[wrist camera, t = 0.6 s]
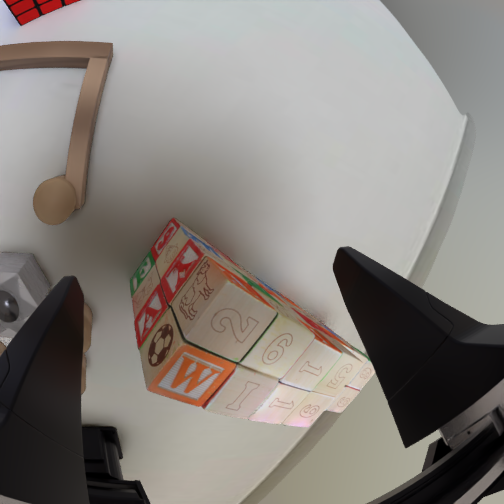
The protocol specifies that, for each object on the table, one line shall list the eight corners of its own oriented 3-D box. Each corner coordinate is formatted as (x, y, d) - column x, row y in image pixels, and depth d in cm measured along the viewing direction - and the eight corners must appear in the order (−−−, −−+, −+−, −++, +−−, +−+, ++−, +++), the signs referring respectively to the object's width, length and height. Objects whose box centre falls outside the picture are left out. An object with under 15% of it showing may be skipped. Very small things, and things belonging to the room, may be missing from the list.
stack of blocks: (325, 323, 32) (402, 383, 22) (292, 364, 32) (358, 433, 22) (171, 215, 21) (230, 279, 11) (126, 281, 21) (144, 394, 11)
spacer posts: (98, 370, 22) (99, 397, 19) (-22, 359, 16) (-32, 382, 13) (96, 177, 18) (91, 180, 15) (-48, 174, 12) (-70, 179, 9)
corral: (84, 202, 18) (79, 208, 16) (-39, 198, 13) (-54, 204, 10) (112, 55, 15) (112, 43, 13) (-15, 58, 10) (-27, 50, 8)
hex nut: (53, 313, 19) (45, 341, 15) (-4, 308, 16) (-19, 334, 13) (48, 254, 18) (36, 274, 14) (-12, 250, 15) (-33, 269, 12)
